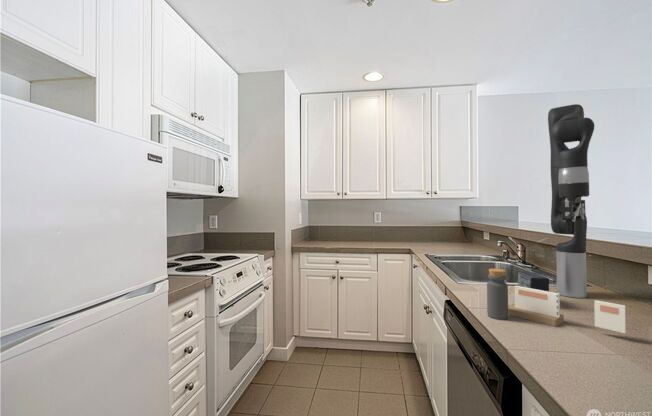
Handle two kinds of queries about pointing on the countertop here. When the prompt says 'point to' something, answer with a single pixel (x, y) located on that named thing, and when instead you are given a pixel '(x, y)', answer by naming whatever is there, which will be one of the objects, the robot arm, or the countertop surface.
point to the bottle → (497, 295)
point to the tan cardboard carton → (536, 306)
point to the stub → (610, 316)
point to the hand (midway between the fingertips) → (574, 232)
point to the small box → (533, 281)
